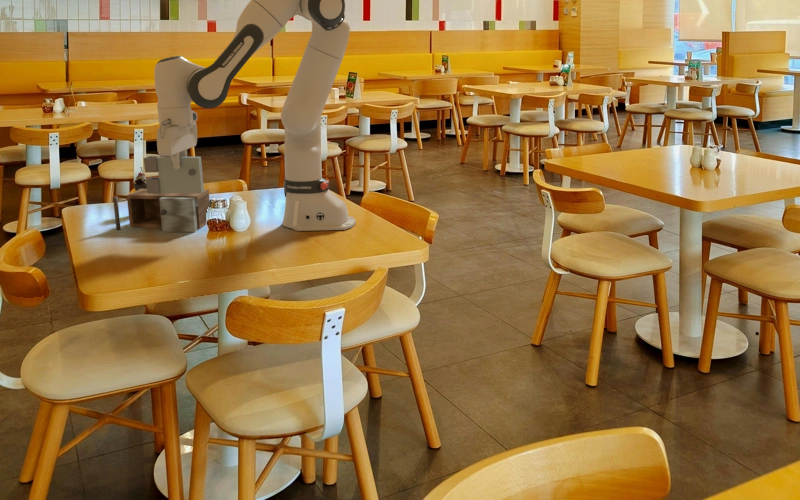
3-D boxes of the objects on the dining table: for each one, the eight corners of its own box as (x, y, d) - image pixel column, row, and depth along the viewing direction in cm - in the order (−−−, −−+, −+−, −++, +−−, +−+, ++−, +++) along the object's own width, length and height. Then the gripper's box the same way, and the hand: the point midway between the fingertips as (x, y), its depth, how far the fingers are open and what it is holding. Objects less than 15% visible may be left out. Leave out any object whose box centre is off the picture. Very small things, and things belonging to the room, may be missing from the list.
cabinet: (211, 221, 246) (208, 189, 243) (193, 233, 231) (190, 200, 228) (135, 219, 248) (132, 188, 245) (113, 231, 234) (109, 198, 231)
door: (205, 191, 221) (201, 156, 218) (200, 194, 217) (196, 158, 214) (152, 191, 223) (148, 156, 220) (146, 193, 219) (142, 158, 216)
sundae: (148, 210, 261) (143, 165, 257) (159, 212, 257) (155, 167, 253) (130, 213, 256) (126, 168, 252) (142, 216, 252) (137, 170, 248)
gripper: (171, 121, 204) (176, 174, 208) (199, 113, 223) (203, 161, 227) (148, 121, 205) (153, 174, 208) (178, 113, 224) (182, 161, 228)
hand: (180, 167), depth 218 cm, fingers closed on door, 2 cm apart
